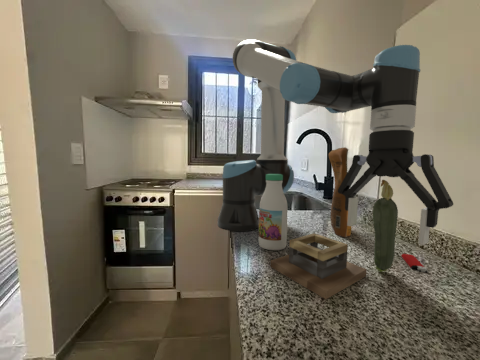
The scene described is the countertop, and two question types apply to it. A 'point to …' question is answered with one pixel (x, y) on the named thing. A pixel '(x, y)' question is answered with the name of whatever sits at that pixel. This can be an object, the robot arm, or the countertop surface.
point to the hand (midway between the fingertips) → (383, 233)
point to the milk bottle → (273, 214)
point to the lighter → (413, 263)
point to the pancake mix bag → (338, 201)
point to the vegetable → (384, 228)
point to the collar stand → (319, 265)
